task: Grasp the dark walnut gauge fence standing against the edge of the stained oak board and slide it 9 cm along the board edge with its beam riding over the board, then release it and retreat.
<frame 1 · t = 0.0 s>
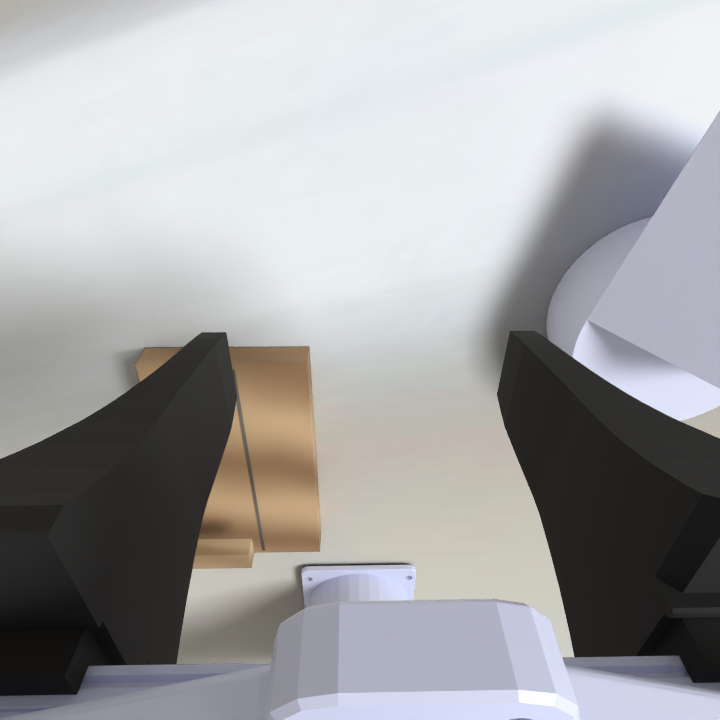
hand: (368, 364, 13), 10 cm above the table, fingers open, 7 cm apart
wedge on round base: (665, 267, 23), on the table
gauge: (147, 497, 31), on the table
board: (246, 453, 29), on the table
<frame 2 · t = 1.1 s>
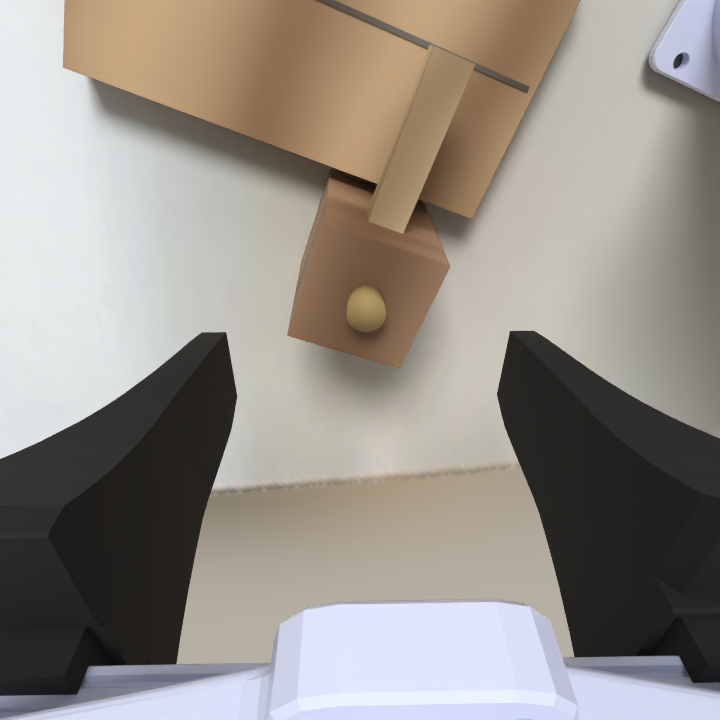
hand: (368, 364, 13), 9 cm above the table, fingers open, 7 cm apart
gauge: (361, 234, 21), on the table
board: (322, 18, 16), on the table
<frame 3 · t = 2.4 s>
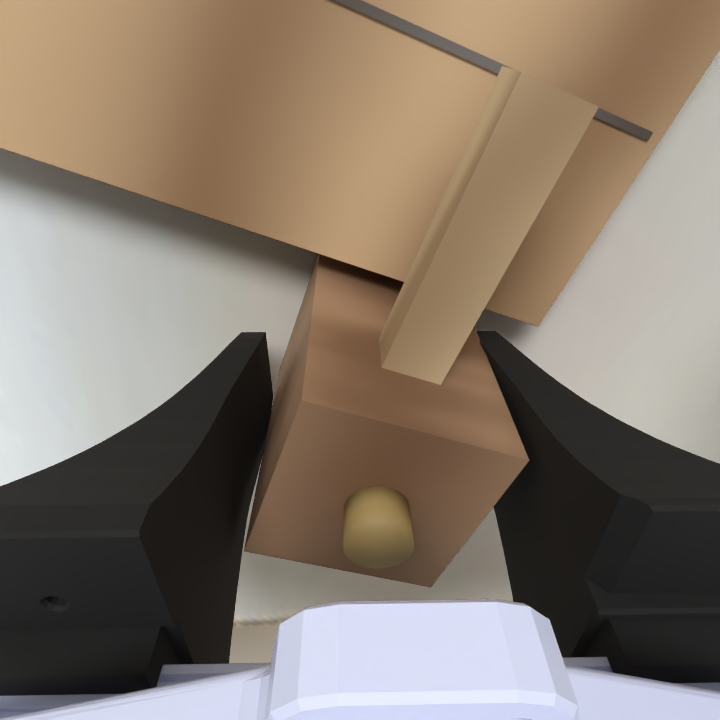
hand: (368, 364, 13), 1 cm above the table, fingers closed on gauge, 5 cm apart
gauge: (366, 335, 14), on the table, touching gripper
board: (303, 16, 10), on the table
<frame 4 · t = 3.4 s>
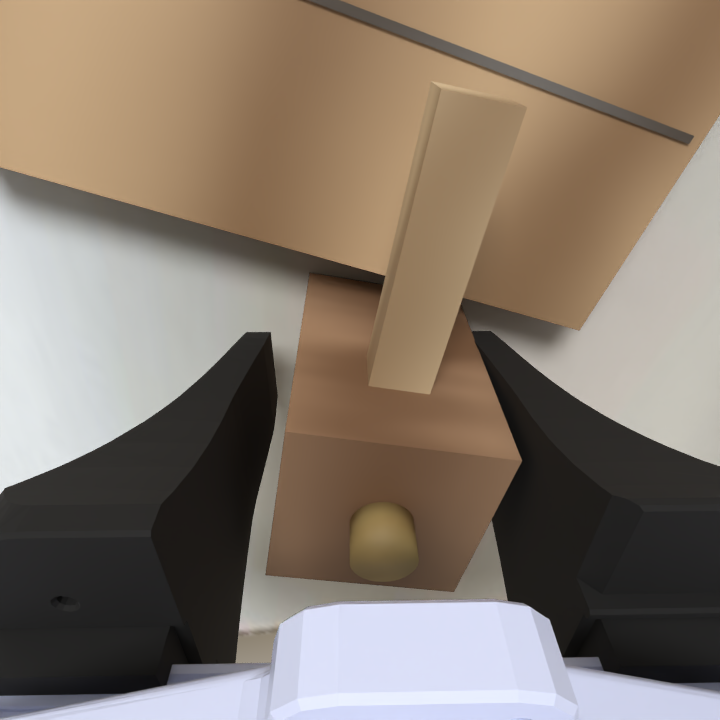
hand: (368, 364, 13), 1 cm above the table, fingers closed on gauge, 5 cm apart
gauge: (370, 347, 14), on the table, touching gripper
board: (342, 40, 10), on the table
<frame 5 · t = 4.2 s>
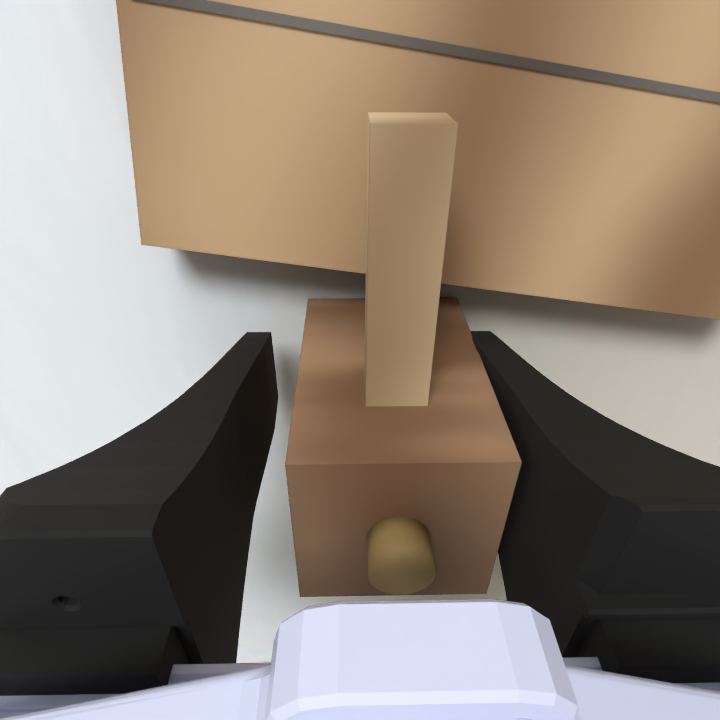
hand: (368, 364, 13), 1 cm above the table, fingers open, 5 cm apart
gauge: (380, 359, 14), on the table, touching gripper
board: (500, 85, 11), on the table
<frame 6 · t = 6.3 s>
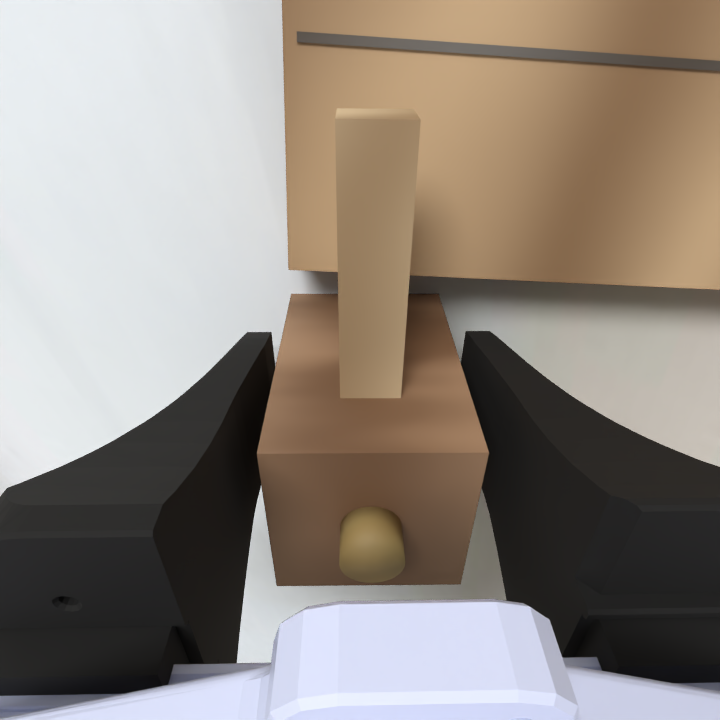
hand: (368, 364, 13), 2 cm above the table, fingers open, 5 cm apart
gauge: (364, 355, 15), on the table
board: (629, 84, 11), on the table
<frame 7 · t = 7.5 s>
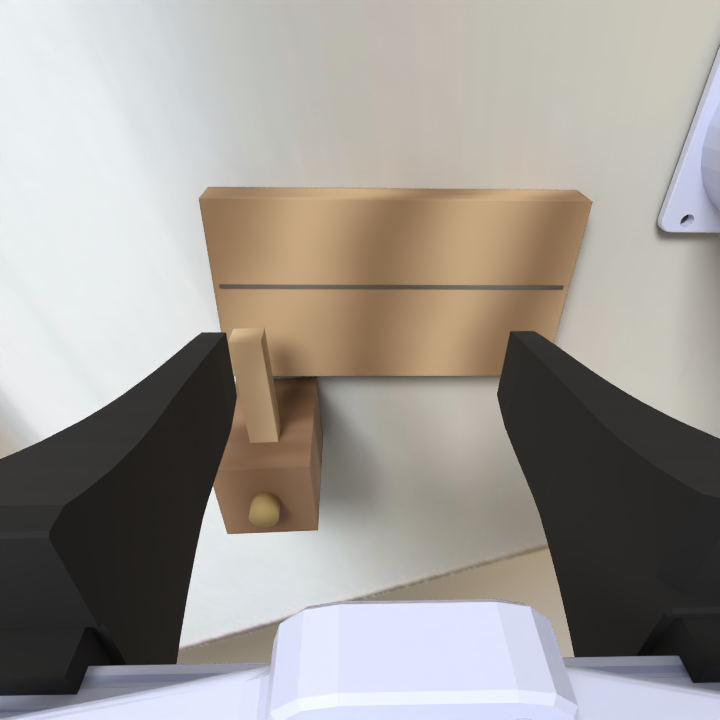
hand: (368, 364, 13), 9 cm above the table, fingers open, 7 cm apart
gauge: (281, 409, 26), on the table
board: (389, 281, 22), on the table
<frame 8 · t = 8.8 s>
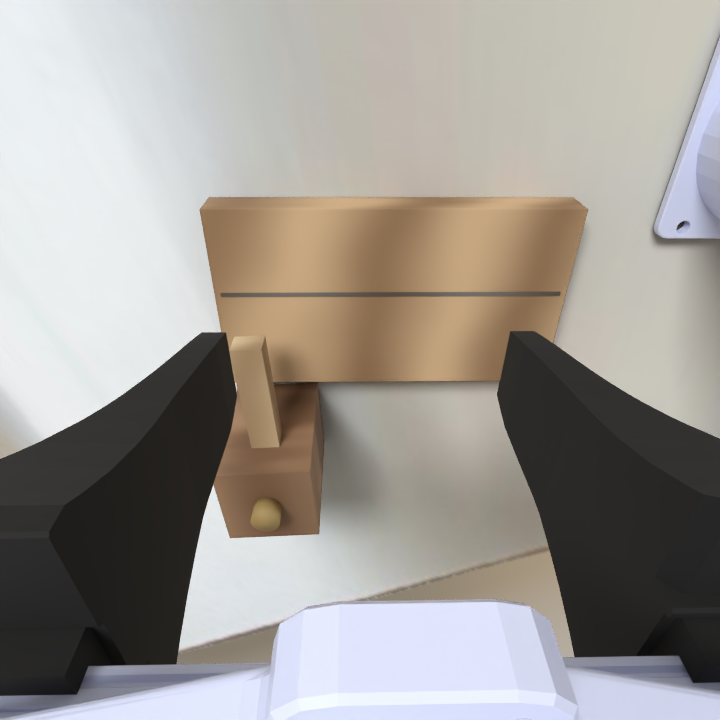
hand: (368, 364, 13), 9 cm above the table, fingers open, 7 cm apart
gauge: (283, 414, 26), on the table
board: (388, 288, 22), on the table
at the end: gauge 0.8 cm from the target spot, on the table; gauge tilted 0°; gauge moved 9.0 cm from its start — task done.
